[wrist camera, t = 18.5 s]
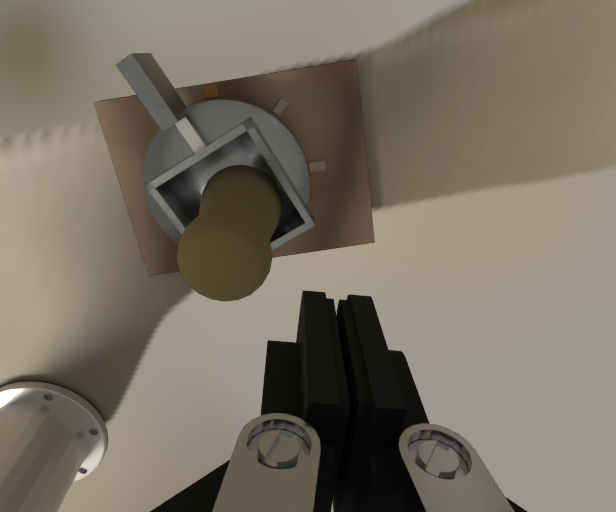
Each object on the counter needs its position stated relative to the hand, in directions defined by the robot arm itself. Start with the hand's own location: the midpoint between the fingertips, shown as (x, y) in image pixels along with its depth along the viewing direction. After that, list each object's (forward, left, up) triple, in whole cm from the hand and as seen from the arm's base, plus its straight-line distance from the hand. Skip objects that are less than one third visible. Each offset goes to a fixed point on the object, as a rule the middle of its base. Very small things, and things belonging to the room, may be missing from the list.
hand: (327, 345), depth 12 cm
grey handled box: (-7, 0, -26) cm, 26 cm away
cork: (-5, -3, -24) cm, 25 cm away
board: (-5, -2, -27) cm, 28 cm away
